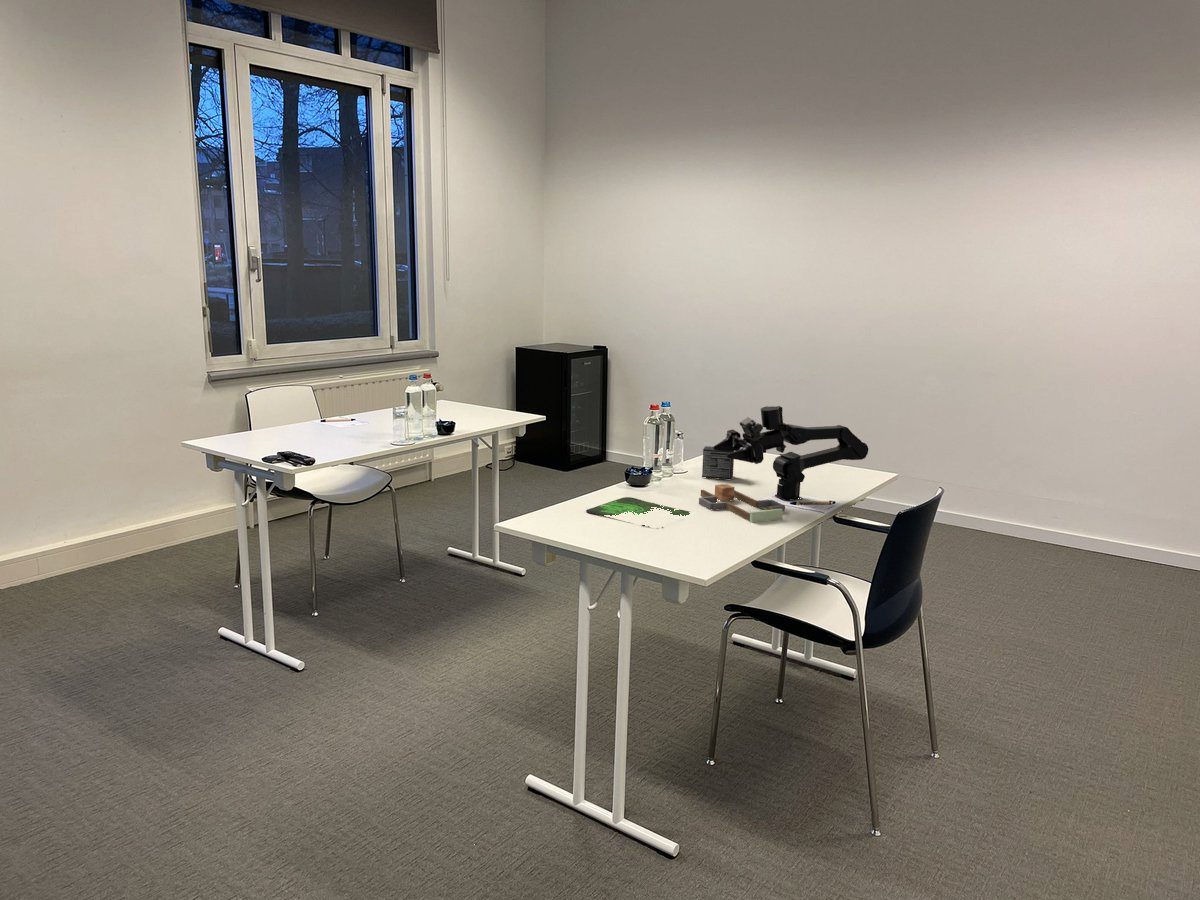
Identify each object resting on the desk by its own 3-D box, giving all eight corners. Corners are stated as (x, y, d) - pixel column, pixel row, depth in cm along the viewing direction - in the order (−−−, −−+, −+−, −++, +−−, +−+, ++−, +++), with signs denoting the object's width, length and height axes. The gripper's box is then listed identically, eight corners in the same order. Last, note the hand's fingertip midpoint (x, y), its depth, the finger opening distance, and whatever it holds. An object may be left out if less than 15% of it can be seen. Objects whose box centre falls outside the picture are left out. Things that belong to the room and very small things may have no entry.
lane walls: (728, 493, 291) (729, 487, 290) (780, 518, 264) (780, 511, 263) (700, 495, 287) (700, 489, 286) (749, 521, 260) (750, 514, 259)
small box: (733, 476, 314) (735, 447, 312) (731, 480, 308) (733, 451, 306) (703, 473, 317) (705, 445, 315) (701, 478, 311) (702, 448, 309)
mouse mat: (699, 514, 267) (699, 511, 267) (659, 531, 250) (659, 528, 249) (625, 498, 283) (625, 495, 282) (582, 513, 265) (582, 510, 265)
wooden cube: (726, 497, 286) (727, 483, 285) (733, 500, 282) (734, 487, 281) (714, 498, 285) (715, 484, 284) (721, 502, 281) (722, 488, 280)
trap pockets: (755, 498, 286) (755, 492, 285) (785, 512, 270) (785, 506, 270) (698, 503, 278) (698, 497, 277) (725, 518, 262) (725, 511, 262)
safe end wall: (780, 518, 264) (780, 508, 263) (782, 519, 263) (782, 509, 262) (749, 521, 260) (750, 511, 259) (751, 522, 259) (752, 512, 258)
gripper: (748, 410, 285) (704, 420, 281) (778, 424, 268) (732, 435, 264) (751, 442, 289) (707, 453, 285) (780, 458, 272) (735, 470, 268)
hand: (720, 452), depth 275 cm, fingers open, 9 cm apart
